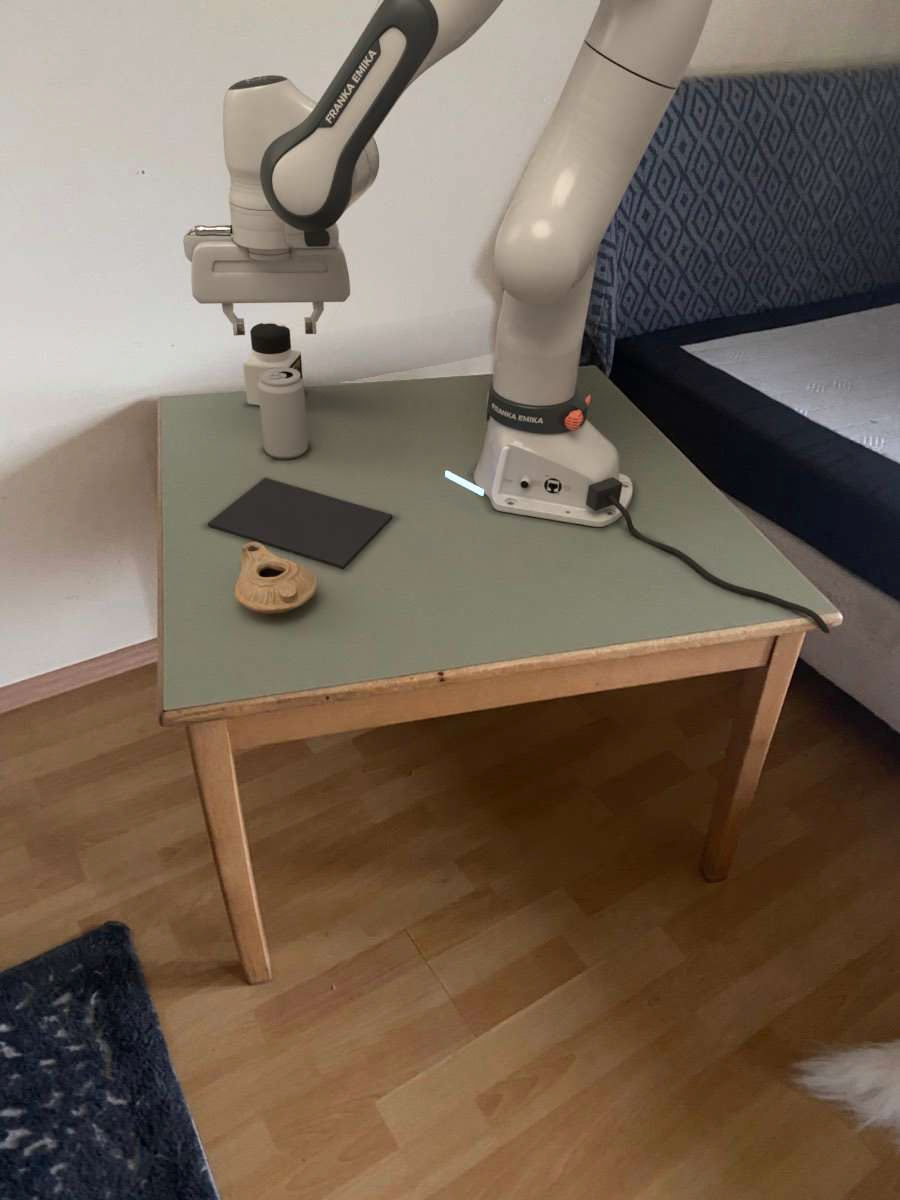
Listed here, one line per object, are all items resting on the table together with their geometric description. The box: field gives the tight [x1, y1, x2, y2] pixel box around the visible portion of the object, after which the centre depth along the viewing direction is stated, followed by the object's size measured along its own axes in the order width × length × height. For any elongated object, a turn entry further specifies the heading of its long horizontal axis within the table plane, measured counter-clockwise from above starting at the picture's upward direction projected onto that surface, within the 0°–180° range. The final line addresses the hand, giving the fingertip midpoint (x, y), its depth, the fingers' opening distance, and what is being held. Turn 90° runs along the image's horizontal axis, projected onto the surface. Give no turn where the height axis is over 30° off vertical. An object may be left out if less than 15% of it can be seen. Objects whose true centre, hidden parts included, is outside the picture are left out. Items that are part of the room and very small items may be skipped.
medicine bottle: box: [242, 321, 304, 407], centre depth 138 cm, size 7×7×12 cm
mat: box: [207, 477, 393, 570], centre depth 114 cm, size 20×13×1 cm, turn 66°
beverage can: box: [257, 367, 309, 460], centre depth 125 cm, size 6×6×12 cm
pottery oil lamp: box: [234, 541, 319, 614], centre depth 100 cm, size 9×12×7 cm
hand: (275, 333), depth 118 cm, fingers open, 8 cm apart
